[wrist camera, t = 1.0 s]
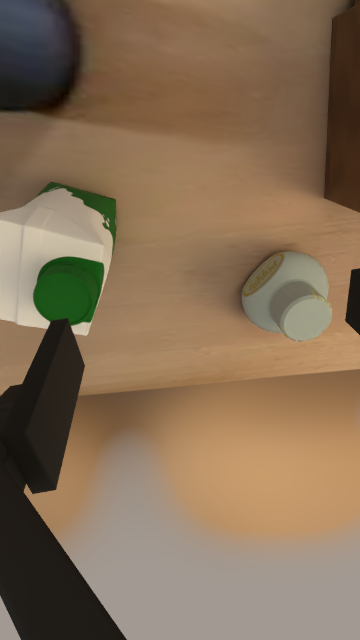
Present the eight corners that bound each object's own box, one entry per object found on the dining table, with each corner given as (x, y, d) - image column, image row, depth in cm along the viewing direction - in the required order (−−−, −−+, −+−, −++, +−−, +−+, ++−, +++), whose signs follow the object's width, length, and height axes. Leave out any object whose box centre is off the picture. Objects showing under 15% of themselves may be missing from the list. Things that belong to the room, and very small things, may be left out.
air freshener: (286, 233, 43) (323, 260, 34) (326, 271, 46) (368, 305, 37) (226, 296, 46) (246, 335, 38) (267, 327, 50) (294, 370, 41)
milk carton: (110, 264, 43) (89, 359, 25) (34, 246, 41) (-46, 336, 23) (125, 193, 39) (112, 248, 21) (42, 169, 37) (-48, 208, 19)
